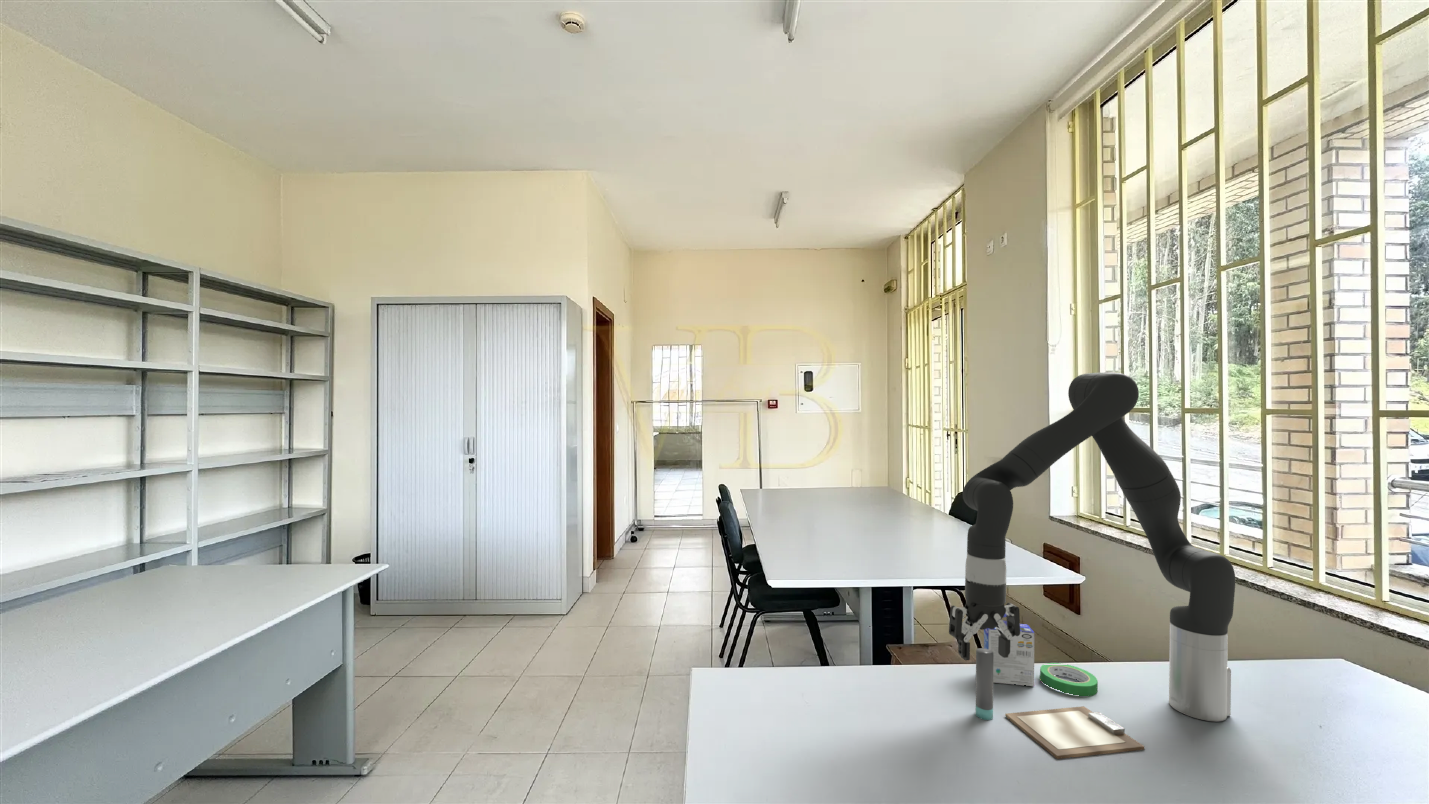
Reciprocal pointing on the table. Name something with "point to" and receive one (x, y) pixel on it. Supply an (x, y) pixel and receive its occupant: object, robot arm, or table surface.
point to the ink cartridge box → (1013, 657)
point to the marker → (984, 683)
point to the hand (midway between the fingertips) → (984, 657)
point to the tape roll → (1082, 688)
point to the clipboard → (1074, 732)
